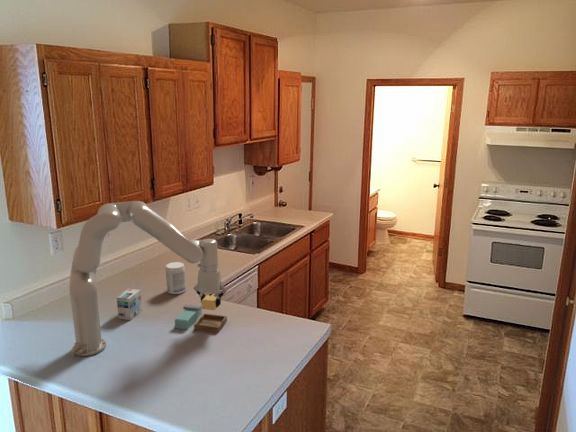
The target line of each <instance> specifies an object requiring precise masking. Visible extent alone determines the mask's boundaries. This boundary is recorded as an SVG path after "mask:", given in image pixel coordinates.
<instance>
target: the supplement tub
mask: <svg viewBox="0 0 576 432" xmlns="http://www.w3.org/2000/svg"><path fill="white" fill-rule="evenodd" d="M165 276H166V291H167V293H168V294H170V295H180V294H183V293H184V292H186V290H187V287H186V284H187V283H186V269H185V264H184V263H183V262H180V261H175V262H174V261H173V262H169V263H168V264H166V265H165Z"/></svg>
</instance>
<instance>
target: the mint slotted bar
mask: <svg viewBox="0 0 576 432" xmlns="http://www.w3.org/2000/svg"><path fill="white" fill-rule="evenodd" d="M202 315H203V309H202V305H198V304H197V305H196V304H184V306H183V309H182V311H181V312H180V314H178V316H177V317H176V318H175V319H174V328H175V329H181V330H189V329H190V328H191V326H193V325H194V324H195V323H196V322H197V321H198V320H199V318H200V317H201V316H202Z"/></svg>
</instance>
